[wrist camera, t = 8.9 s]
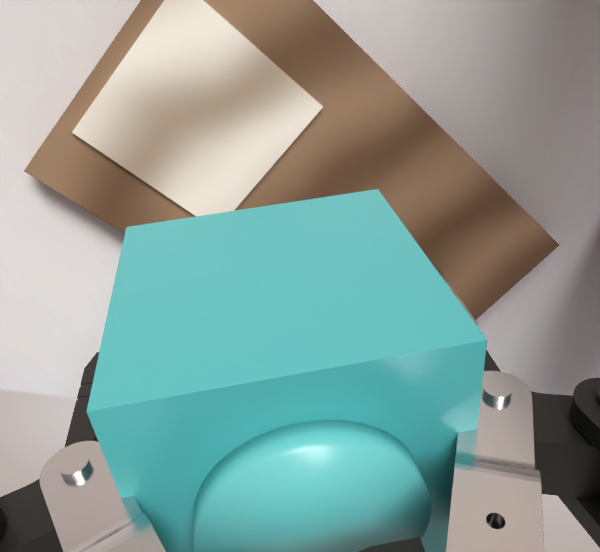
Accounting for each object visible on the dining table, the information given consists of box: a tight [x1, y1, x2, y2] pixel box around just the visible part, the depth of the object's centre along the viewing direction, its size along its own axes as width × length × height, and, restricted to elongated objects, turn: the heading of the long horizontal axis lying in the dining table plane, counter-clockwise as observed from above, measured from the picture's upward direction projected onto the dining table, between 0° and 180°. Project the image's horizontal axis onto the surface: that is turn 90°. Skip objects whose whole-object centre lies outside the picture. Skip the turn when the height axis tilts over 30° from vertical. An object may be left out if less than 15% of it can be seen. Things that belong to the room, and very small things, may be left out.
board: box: [24, 0, 559, 325], centre depth 28 cm, size 25×14×6 cm, turn 49°
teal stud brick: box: [87, 189, 487, 552], centre depth 12 cm, size 6×6×7 cm
